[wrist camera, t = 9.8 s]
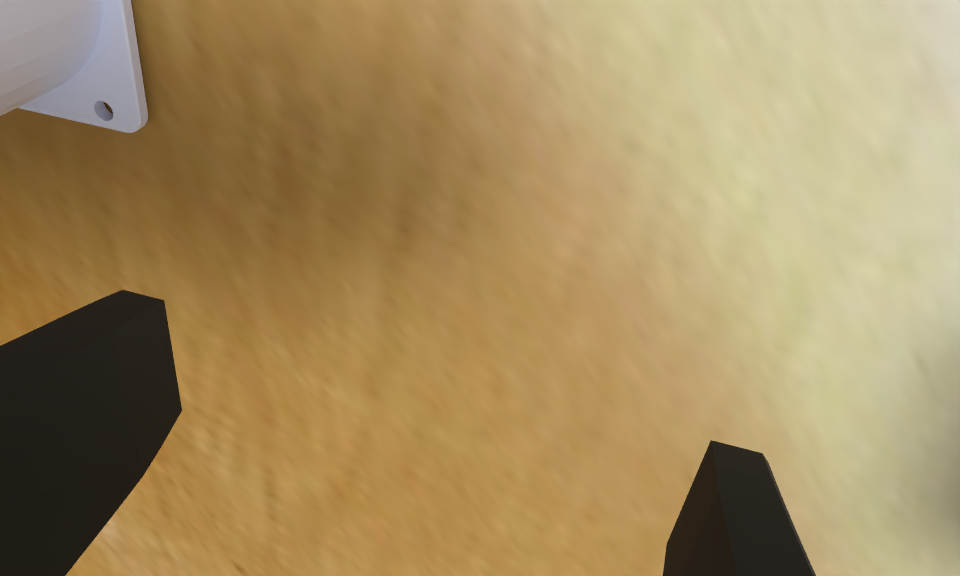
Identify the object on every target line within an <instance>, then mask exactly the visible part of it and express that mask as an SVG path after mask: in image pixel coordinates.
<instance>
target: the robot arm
mask: <svg viewBox="0 0 960 576" xmlns="http://www.w3.org/2000/svg"><path fill="white" fill-rule="evenodd" d="M104 102H105V103H107V104H108V105H109V106H110V107H111V109H112V111H113V114H112V113H110V112H109V111H108V110H107V109H106V107H105V104H104ZM16 108H20V109H24V110H28V111H33V112H37V113H42V114H46V115H50V116H55V117H59V118H64V119H68V120H72V121H77V122H81V123H86V124H90V125H94V126H99V127H103V128H108V129H112V130H117V131H121V132H125V133H133V132H135V131H137V130H139V129H140V128H142V127H143V126H145V124H146V123H147V121H148V111H147V105H146V98H145V91H144V85H143V78H142V71H141V65H140V58H139V51H138V45H137V38H136V32H135V25H134V18H133V12H132V5H131V0H0V116H2V115H4V114H6V113H8V112H10V111H12V110H14V109H16ZM181 411H182V408H181V401H180V395H179V389H178V383H177V377H176V371H175V364H174V358H173V352H172V346H171V340H170V334H169V327H168V321H167V315H166V309H165V303H164V300H160V299H157V298H153V297H149V296H145V295H141V294H137V293H133V292H129V291H125V290H121V291H119V292H116V293H114V294H111V295H109V296H107V297H104V298H102V299H100V300H97V301H95V302H93V303H91V304H88V305H86V306H84V307H82V308H80V309H78V310H75V311H73V312H71V313H69V314H67V315H65V316H63V317H61V318H58V319H56V320H54V321H52V322H50V323H48V324H46V325H44V326H42V327H39V328H37V329H35V330H33V331H31V332H29V333H27V334H25V335H23V336H21V337H18V338H16V339H14V340H12V341H10V342H8V343H6V344H4V345H1V346H0V576H65V575H66V574H67V573H68V571H69V570H70V569H71V568H72V566H73V565H74V564H75V563H76V561H77V560H78V559H79V558H80V556H81V555H82V554H83V552H84V551H85V550H86V549H87V547H88V546H89V545H90V544H91V542H92V541H93V540H94V539H95V537H96V536H97V535H98V534H99V532H100V531H101V530H102V528H103V527H104V526H105V525H106V523H107V522H108V521H109V519H110V518H111V517H112V516H113V514H114V513H115V512H116V510H117V509H118V508H119V507H120V505H121V504H122V503H123V501H124V500H125V499H126V498H127V496H128V495H129V494H130V492H131V491H132V490H133V489H134V487H135V486H136V485H137V483H138V482H139V481H140V479H141V478H142V477H143V475H144V474H145V472H146V470H147V469H148V467H149V466H150V464H151V462H152V461H153V459H154V458H155V456H156V454H157V453H158V451H159V449H160V448H161V446H162V445H163V443H164V441H165V439H166V438H167V436H168V434H169V432H170V431H171V429H172V427H173V425H174V424H175V422H176V420H177V418H178V417H179V415H180V413H181ZM663 576H816V575H815V572H814V570H813V568H812V566H811V564H810V561H809V559H808V557H807V555H806V552H805V550H804V548H803V545H802V543H801V541H800V539H799V536H798V534H797V532H796V530H795V527H794V525H793V522H792V520H791V518H790V515H789V513H788V511H787V508H786V506H785V503H784V501H783V498H782V496H781V493H780V491H779V488H778V486H777V484H776V481H775V479H774V476H773V473H772V471H771V468H770V466H769V463H768V461H767V460H766V458H765V457H764V455H763V454H762V453H759V452H755V451H751V450H747V449H743V448H739V447H735V446H731V445H727V444H723V443H720V442H716V441H712V440H711V441H710V444H709V446H708V448H707V451H706V453H705V455H704V458H703V460H702V463H701V465H700V467H699V470H698V472H697V474H696V477H695V479H694V481H693V484H692V486H691V488H690V491H689V493H688V495H687V498H686V500H685V502H684V505H683V507H682V509H681V512H680V514H679V517H678V519H677V521H676V524H675V526H674V528H673V531H672V533H671V535H670V538H669V540H668V542H667V547H666V555H665V563H664V571H663Z"/></svg>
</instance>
